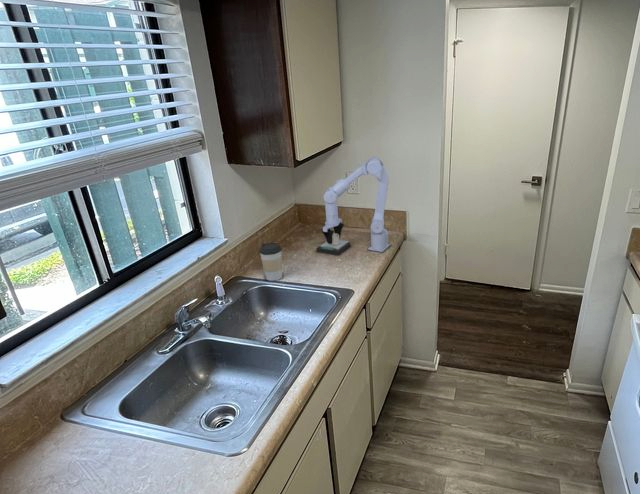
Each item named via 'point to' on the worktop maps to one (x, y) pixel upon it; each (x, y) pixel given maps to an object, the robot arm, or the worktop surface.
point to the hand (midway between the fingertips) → (333, 240)
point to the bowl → (335, 239)
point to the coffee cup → (271, 260)
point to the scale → (334, 247)
